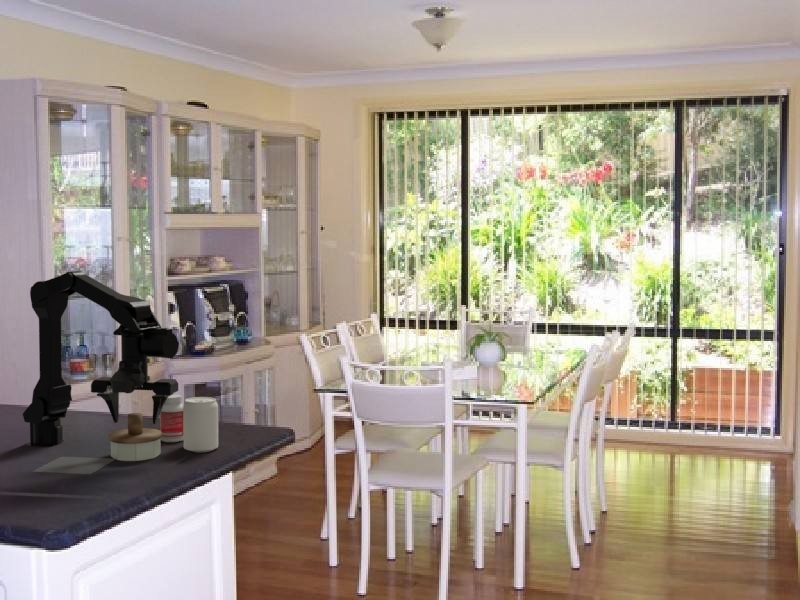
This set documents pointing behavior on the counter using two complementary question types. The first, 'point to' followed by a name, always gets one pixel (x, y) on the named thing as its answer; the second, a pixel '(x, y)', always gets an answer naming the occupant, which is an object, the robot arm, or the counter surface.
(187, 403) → the beverage can
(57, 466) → the mat
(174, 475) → the counter surface
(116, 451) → the bowl
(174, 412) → the pill bottle
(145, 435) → the lid
